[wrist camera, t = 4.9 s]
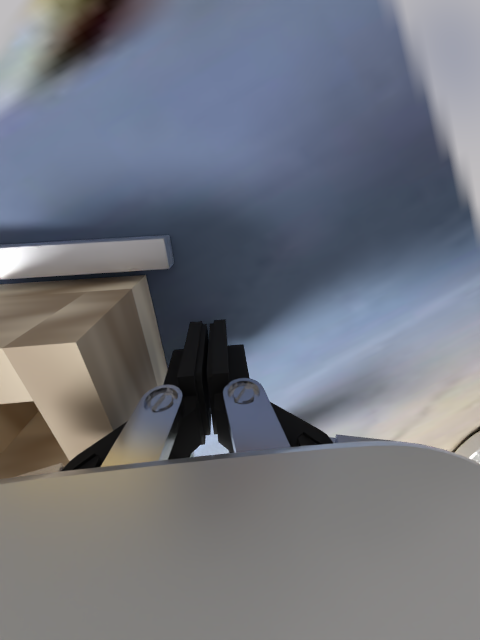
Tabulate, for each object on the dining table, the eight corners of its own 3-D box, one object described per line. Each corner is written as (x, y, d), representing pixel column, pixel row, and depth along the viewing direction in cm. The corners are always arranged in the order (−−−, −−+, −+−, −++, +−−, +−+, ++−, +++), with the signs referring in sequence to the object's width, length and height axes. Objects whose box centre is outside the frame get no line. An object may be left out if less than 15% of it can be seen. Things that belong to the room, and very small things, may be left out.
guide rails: (169, 234, 10) (163, 238, 9) (198, 406, 15) (197, 422, 14) (-270, 259, 9) (-333, 267, 8) (-93, 434, 14) (-119, 453, 13)
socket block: (145, 274, 11) (75, 342, 6) (172, 388, 14) (143, 501, 9) (-11, 285, 11) (-245, 367, 5) (52, 399, 14) (-55, 523, 8)
